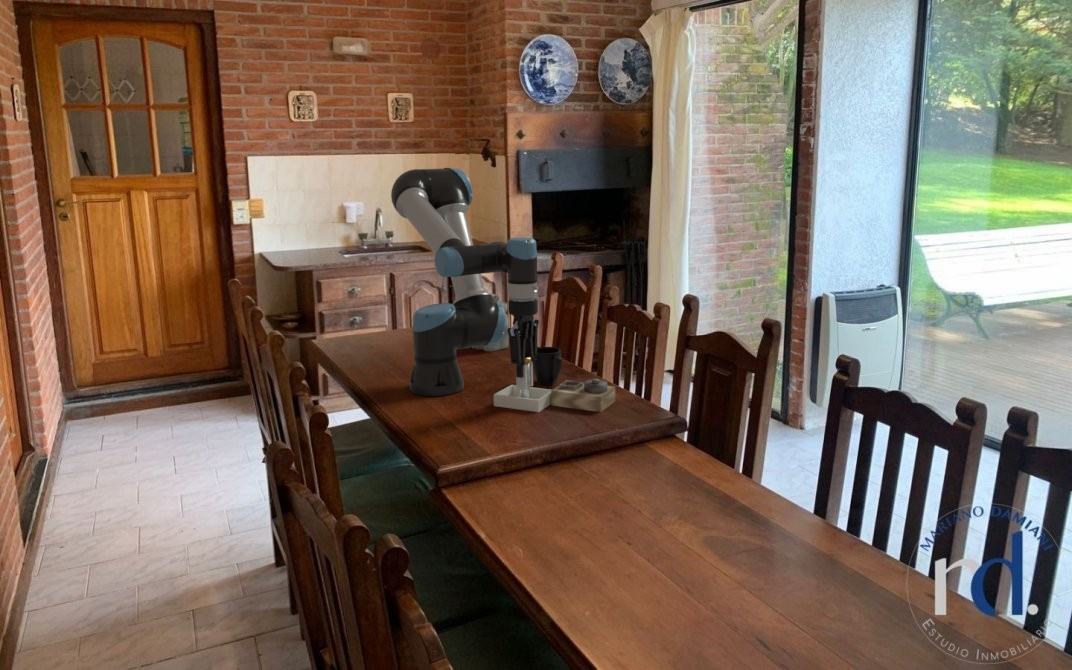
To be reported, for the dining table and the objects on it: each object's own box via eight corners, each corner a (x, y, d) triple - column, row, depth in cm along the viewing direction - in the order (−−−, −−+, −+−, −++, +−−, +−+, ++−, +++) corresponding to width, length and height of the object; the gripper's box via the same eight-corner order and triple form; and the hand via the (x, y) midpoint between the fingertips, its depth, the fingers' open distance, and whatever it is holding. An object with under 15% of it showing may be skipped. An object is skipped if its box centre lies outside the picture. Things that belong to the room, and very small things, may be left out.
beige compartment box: (551, 405, 225) (550, 380, 223) (567, 395, 233) (566, 370, 232) (600, 412, 219) (601, 386, 217) (615, 401, 227) (615, 376, 226)
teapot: (461, 342, 295) (459, 288, 291) (505, 340, 298) (504, 286, 293) (465, 354, 279) (463, 297, 275) (511, 351, 282) (510, 295, 278)
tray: (493, 405, 225) (493, 394, 224) (511, 395, 234) (511, 384, 233) (538, 412, 219) (538, 400, 218) (555, 401, 228) (555, 390, 227)
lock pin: (515, 402, 225) (514, 358, 223) (522, 398, 229) (521, 355, 226) (528, 404, 224) (527, 359, 221) (534, 400, 227) (533, 356, 224)
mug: (546, 391, 237) (545, 357, 235) (527, 380, 248) (527, 348, 246) (572, 387, 241) (572, 354, 239) (553, 377, 251) (552, 345, 249)
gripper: (521, 305, 212) (523, 396, 217) (549, 294, 225) (550, 380, 231) (495, 303, 215) (497, 393, 220) (524, 292, 229) (525, 377, 234)
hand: (524, 386), depth 225 cm, fingers closed on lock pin, 3 cm apart
